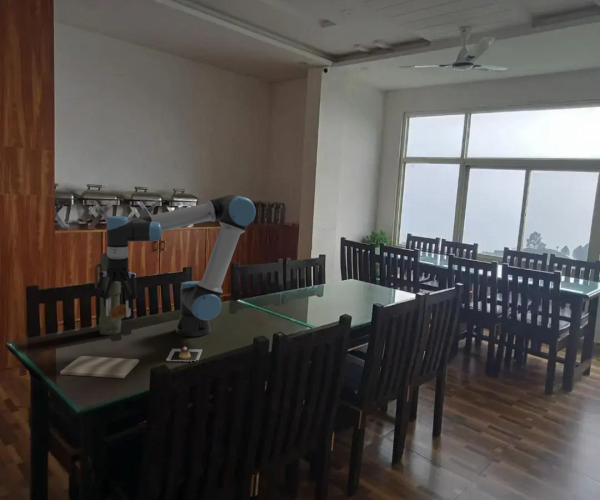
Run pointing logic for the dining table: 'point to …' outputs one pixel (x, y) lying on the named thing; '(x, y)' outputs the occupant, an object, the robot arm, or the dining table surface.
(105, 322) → the thermos
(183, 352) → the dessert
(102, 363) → the serving board
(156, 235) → the robot arm
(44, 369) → the dining table surface
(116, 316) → the pastry
